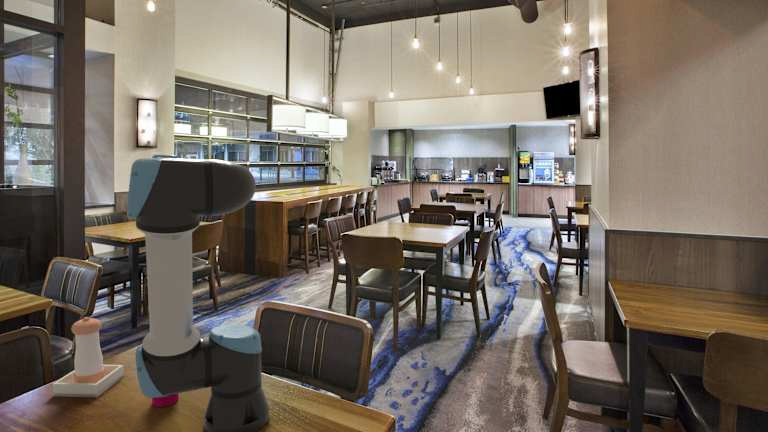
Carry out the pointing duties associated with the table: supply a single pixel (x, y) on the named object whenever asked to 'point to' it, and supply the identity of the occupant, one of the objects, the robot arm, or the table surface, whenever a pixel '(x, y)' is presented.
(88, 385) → the tray
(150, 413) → the table surface
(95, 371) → the pepper shaker
